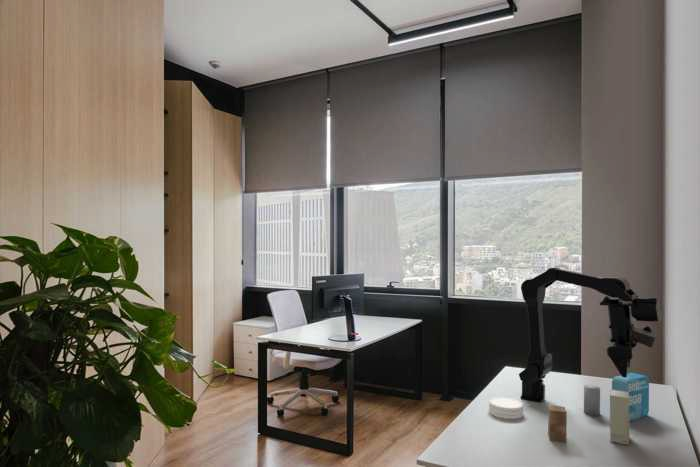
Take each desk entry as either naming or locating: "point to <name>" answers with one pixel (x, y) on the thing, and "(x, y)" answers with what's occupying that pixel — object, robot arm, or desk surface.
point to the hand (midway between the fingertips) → (626, 372)
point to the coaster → (506, 408)
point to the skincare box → (619, 417)
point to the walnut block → (557, 423)
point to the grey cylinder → (592, 400)
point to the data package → (634, 393)
